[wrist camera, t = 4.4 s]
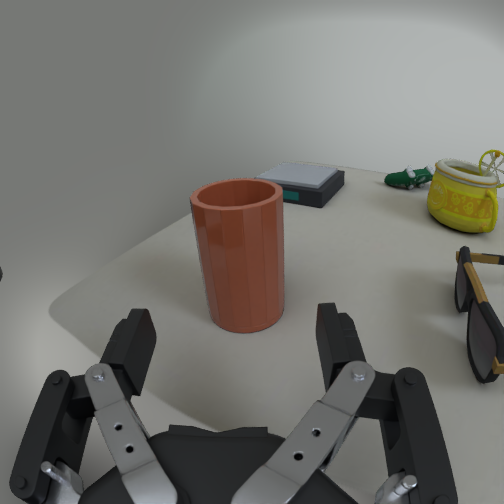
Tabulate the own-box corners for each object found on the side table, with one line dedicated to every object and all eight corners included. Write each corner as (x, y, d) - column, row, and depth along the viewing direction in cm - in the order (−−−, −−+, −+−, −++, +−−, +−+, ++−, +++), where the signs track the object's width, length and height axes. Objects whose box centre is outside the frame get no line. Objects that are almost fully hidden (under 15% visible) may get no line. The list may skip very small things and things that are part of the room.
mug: (411, 207, 42) (419, 127, 36) (462, 205, 43) (472, 134, 37) (460, 249, 31) (479, 150, 25) (512, 242, 32) (530, 158, 26)
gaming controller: (389, 197, 51) (409, 182, 45) (381, 178, 52) (399, 161, 46) (422, 191, 53) (442, 177, 48) (414, 174, 54) (433, 159, 48)
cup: (220, 342, 23) (199, 217, 18) (202, 295, 28) (184, 187, 23) (296, 319, 24) (298, 198, 19) (267, 278, 29) (262, 173, 24)
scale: (321, 208, 43) (322, 188, 42) (247, 196, 49) (246, 178, 47) (344, 184, 52) (344, 167, 50) (281, 175, 57) (280, 160, 56)
